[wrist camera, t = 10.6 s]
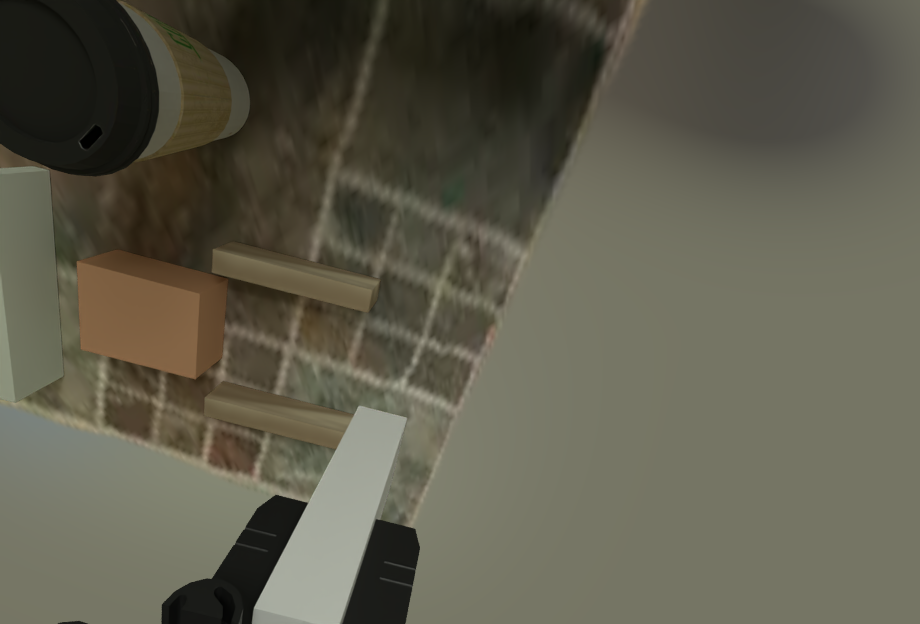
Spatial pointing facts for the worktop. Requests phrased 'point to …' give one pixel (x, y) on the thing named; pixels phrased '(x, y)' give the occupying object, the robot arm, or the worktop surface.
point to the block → (151, 312)
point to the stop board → (27, 285)
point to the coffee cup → (108, 86)
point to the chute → (303, 281)
